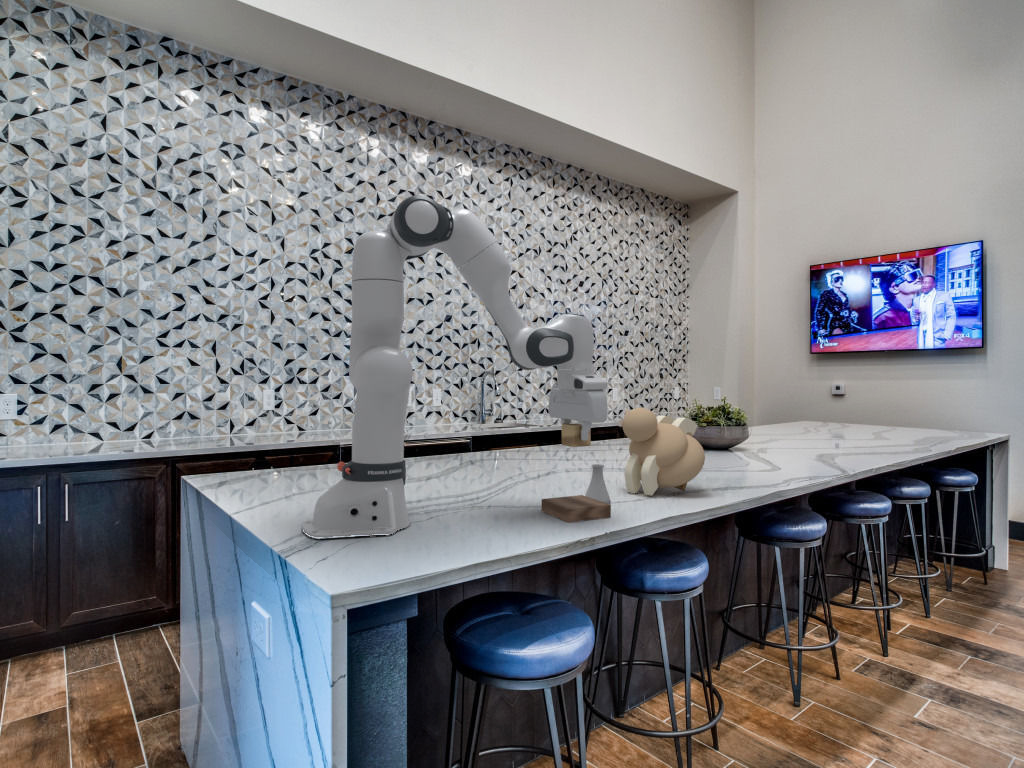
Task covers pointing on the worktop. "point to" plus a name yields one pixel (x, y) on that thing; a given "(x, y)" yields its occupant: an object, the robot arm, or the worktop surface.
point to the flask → (598, 485)
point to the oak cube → (574, 435)
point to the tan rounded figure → (660, 451)
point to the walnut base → (576, 508)
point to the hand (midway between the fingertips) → (575, 438)
